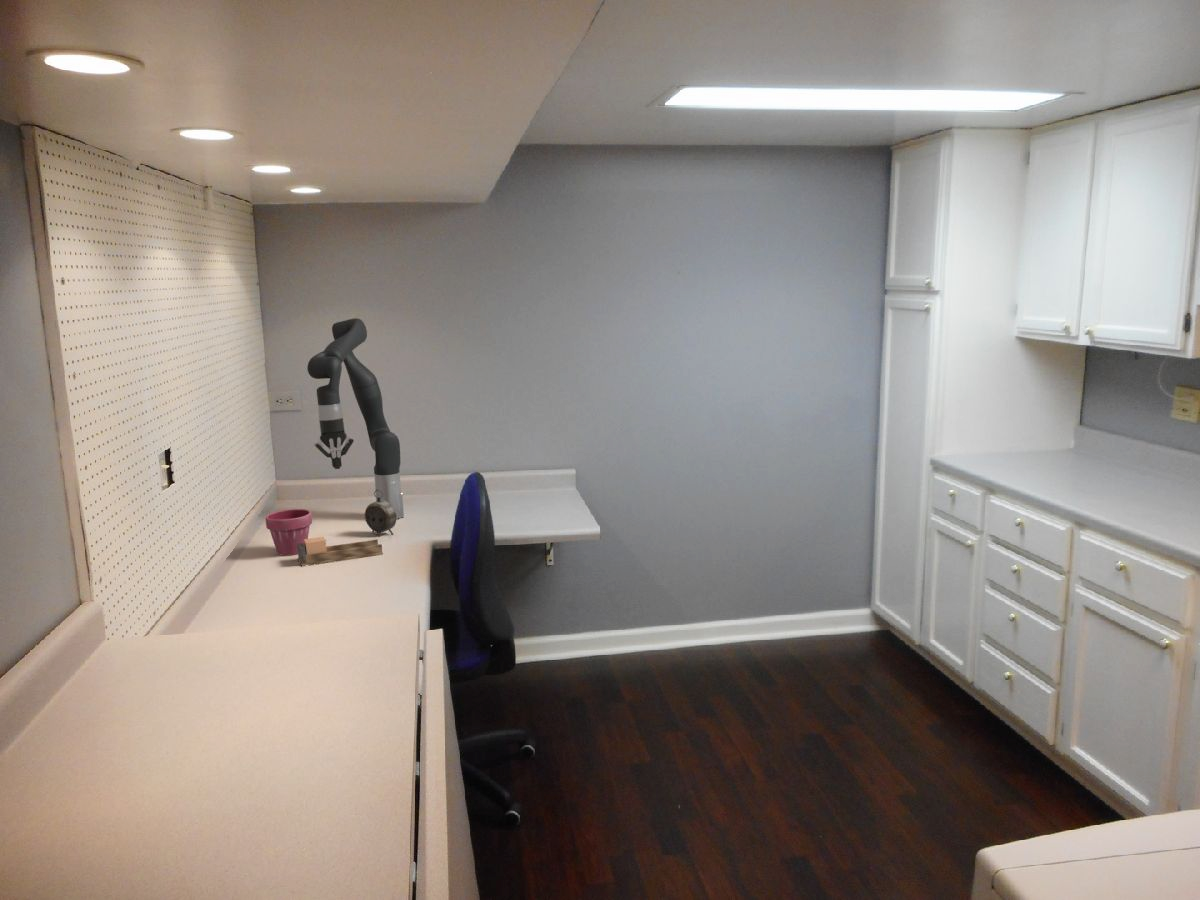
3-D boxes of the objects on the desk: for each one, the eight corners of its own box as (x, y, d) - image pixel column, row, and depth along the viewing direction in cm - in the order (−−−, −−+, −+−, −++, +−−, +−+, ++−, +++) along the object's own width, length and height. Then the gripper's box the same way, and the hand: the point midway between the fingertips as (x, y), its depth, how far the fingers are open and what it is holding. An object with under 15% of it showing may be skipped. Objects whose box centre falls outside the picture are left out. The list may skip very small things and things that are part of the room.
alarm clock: (398, 534, 301) (395, 488, 298) (388, 538, 296) (385, 492, 293) (373, 531, 305) (370, 486, 302) (363, 535, 300) (360, 489, 297)
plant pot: (259, 555, 278) (255, 517, 276) (289, 544, 291) (286, 507, 289) (294, 559, 273) (290, 521, 271) (323, 547, 286) (320, 510, 284)
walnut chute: (377, 547, 285) (376, 531, 284) (383, 554, 277) (381, 538, 276) (298, 558, 274) (296, 542, 273) (302, 566, 266) (300, 549, 265)
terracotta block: (324, 554, 276) (323, 536, 274) (327, 558, 271) (325, 540, 270) (305, 557, 273) (303, 539, 272) (307, 561, 269) (305, 543, 267)
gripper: (348, 413, 289) (354, 463, 293) (308, 418, 283) (314, 469, 286) (353, 416, 283) (359, 467, 286) (312, 421, 276) (319, 473, 280)
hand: (337, 468), depth 286 cm, fingers closed
